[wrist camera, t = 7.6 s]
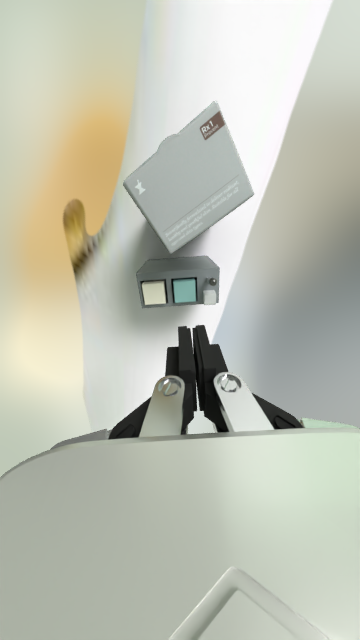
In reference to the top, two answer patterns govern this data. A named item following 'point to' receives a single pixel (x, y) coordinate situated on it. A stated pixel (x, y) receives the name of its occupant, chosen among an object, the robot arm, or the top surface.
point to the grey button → (209, 297)
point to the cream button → (154, 291)
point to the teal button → (184, 289)
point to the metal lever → (212, 281)
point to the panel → (179, 269)
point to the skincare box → (190, 180)
